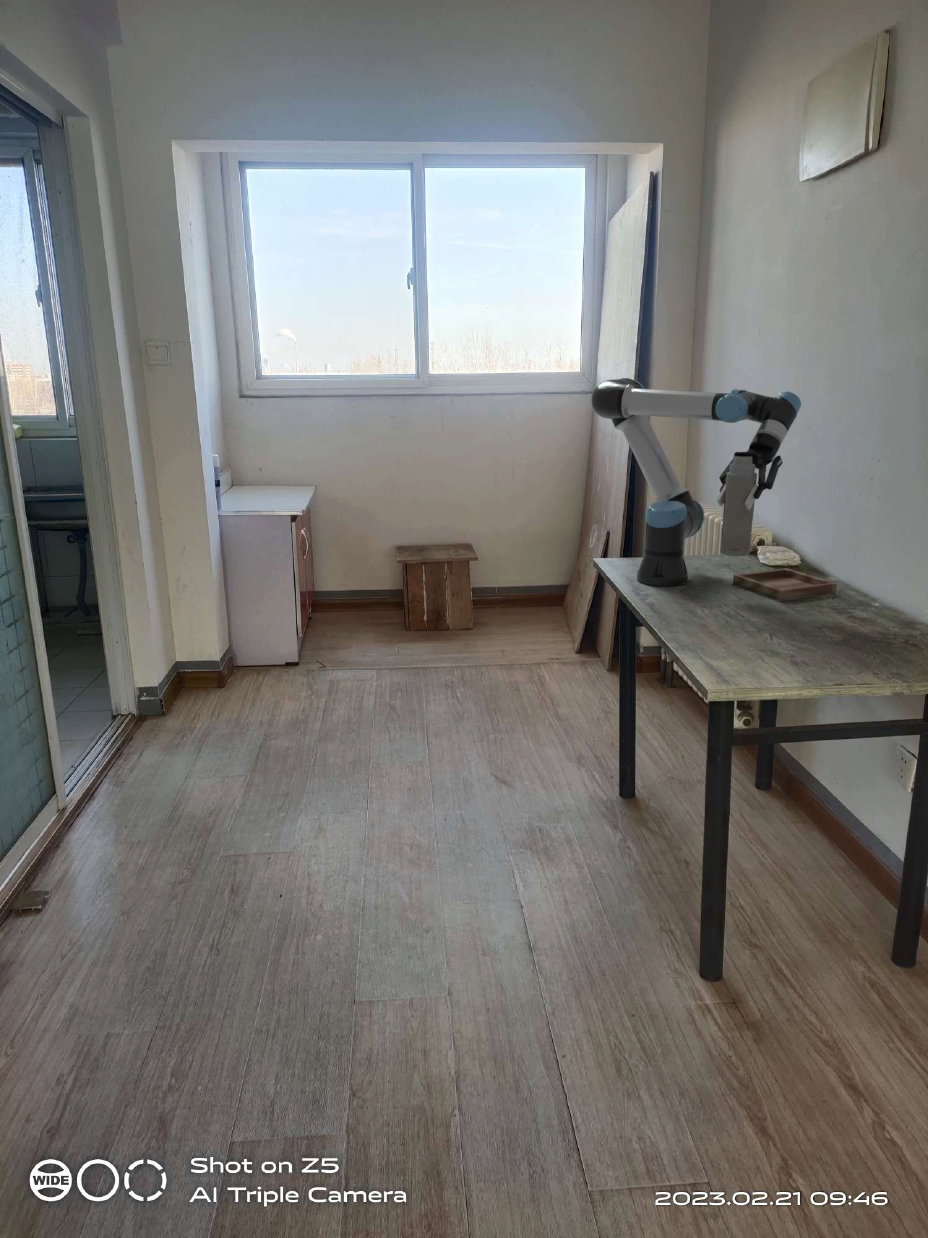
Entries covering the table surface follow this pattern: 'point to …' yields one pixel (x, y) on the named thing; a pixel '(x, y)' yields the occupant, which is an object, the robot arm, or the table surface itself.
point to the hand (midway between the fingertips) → (733, 504)
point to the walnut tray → (784, 584)
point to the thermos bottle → (738, 506)
